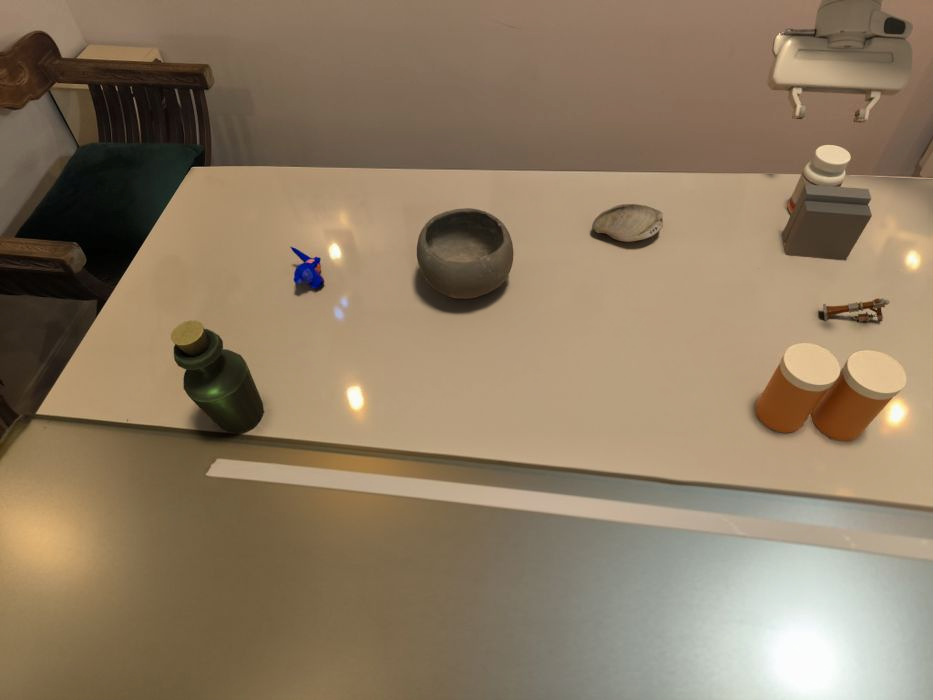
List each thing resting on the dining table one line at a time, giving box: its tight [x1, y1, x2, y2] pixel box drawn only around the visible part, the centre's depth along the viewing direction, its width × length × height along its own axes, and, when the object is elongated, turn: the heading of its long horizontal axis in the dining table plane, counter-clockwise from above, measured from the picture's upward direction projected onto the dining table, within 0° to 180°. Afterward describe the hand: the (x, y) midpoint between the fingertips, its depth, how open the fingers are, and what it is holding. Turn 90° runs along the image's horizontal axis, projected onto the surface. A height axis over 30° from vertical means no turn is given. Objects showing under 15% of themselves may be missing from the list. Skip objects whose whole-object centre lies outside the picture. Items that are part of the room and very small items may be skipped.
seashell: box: [591, 203, 664, 243], centre depth 101 cm, size 12×8×5 cm
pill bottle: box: [787, 144, 852, 215], centre depth 100 cm, size 6×6×11 cm
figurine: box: [290, 246, 325, 290], centre depth 99 cm, size 5×8×5 cm, turn 12°
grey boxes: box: [781, 184, 873, 261], centre depth 95 cm, size 5×9×10 cm, turn 78°
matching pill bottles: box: [755, 342, 907, 442], centre depth 75 cm, size 6×13×11 cm, turn 78°
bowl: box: [416, 207, 514, 299], centre depth 95 cm, size 15×15×10 cm
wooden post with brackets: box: [822, 297, 890, 323], centre depth 88 cm, size 2×8×4 cm, turn 77°
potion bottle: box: [170, 319, 265, 434], centre depth 78 cm, size 8×8×18 cm
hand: (828, 119), depth 99 cm, fingers open, 8 cm apart
